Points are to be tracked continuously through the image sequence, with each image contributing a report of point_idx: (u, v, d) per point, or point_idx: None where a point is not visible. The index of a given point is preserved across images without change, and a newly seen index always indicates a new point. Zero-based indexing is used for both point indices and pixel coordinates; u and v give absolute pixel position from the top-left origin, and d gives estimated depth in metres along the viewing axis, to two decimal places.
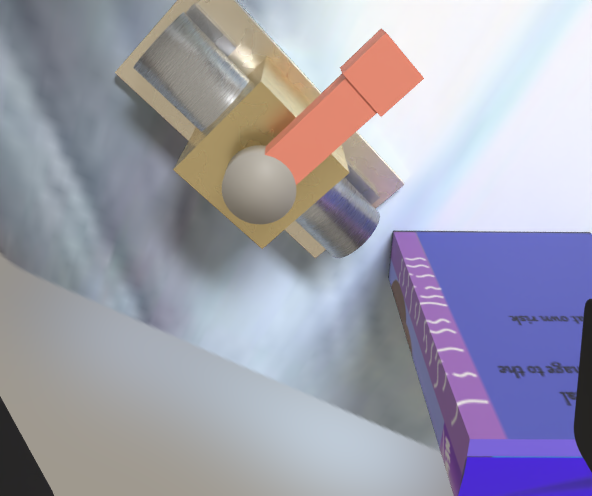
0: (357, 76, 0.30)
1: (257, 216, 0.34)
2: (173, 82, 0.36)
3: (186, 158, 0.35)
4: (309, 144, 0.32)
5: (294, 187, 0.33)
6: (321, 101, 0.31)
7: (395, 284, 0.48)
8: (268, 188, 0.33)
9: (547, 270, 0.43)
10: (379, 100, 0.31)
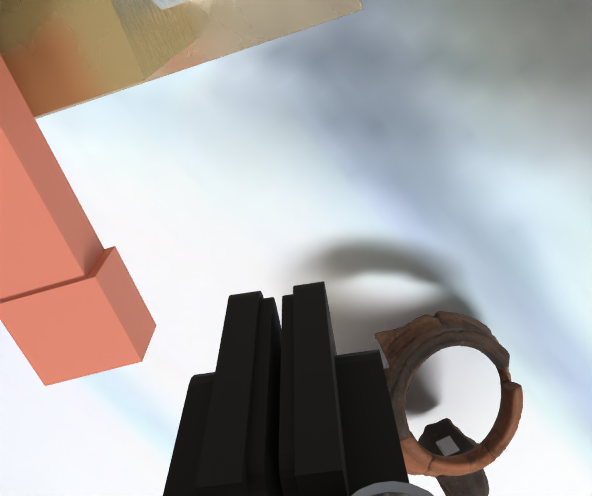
0: (82, 295, 0.15)
1: None
2: None
3: None
4: None
5: None
6: (53, 219, 0.14)
7: None
8: None
9: None
10: (24, 314, 0.16)
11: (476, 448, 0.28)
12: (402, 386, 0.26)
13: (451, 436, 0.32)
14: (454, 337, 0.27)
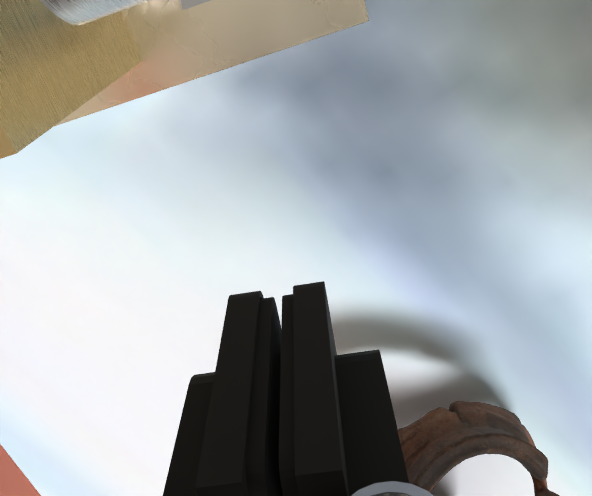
0: None
1: None
2: None
3: None
4: None
5: None
6: None
7: None
8: None
9: None
10: None
11: None
12: None
13: None
14: (479, 445, 0.21)
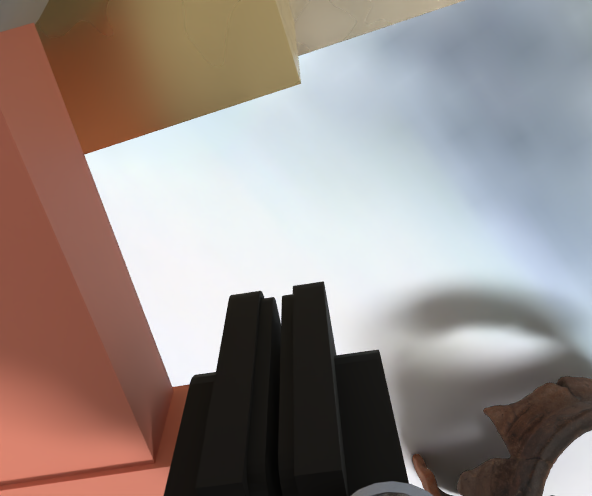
0: (141, 487, 0.09)
1: None
2: None
3: None
4: None
5: None
6: (114, 370, 0.08)
7: None
8: None
9: None
10: None
11: None
12: (537, 487, 0.20)
13: None
14: None
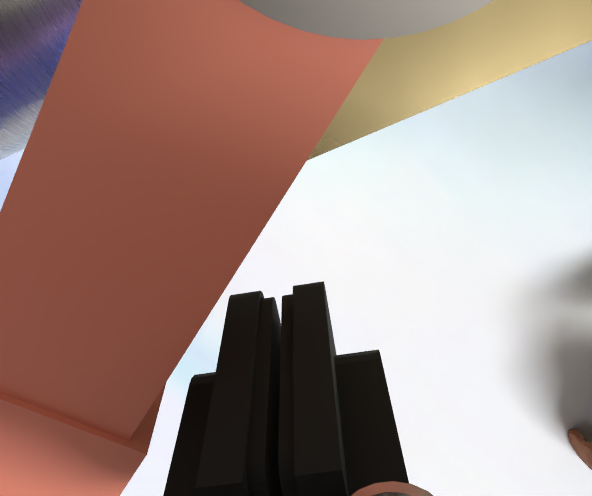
0: (91, 453, 0.08)
1: None
2: None
3: None
4: (160, 165, 0.06)
5: None
6: (184, 349, 0.07)
7: None
8: None
9: None
10: None
11: None
12: None
13: None
14: None
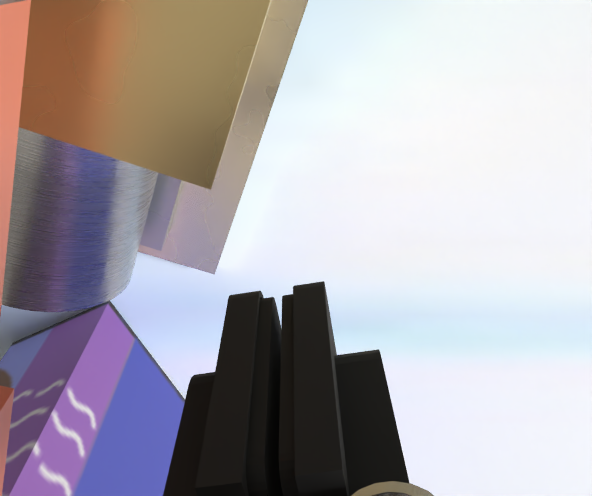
0: None
1: None
2: None
3: None
4: None
5: None
6: None
7: (1, 385, 0.20)
8: None
9: None
10: None
11: None
12: None
13: None
14: None
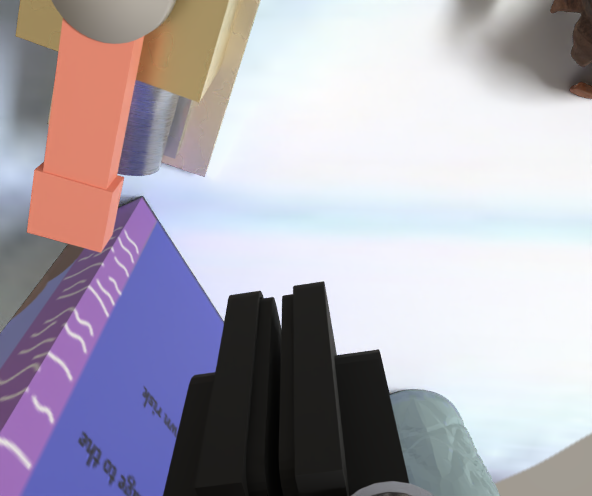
0: (95, 197, 0.24)
1: None
2: None
3: None
4: (89, 88, 0.21)
5: (62, 13, 0.20)
6: (113, 149, 0.23)
7: None
8: None
9: None
10: (51, 186, 0.23)
11: None
12: None
13: None
14: None
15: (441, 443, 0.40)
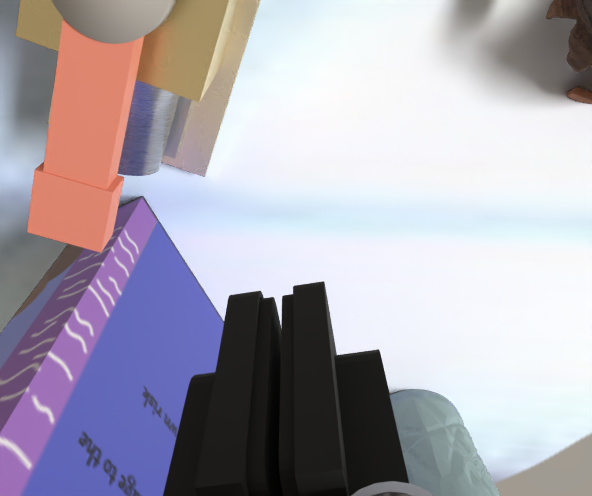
0: (95, 197, 0.24)
1: None
2: None
3: None
4: (89, 88, 0.21)
5: (62, 13, 0.20)
6: (113, 149, 0.23)
7: None
8: None
9: None
10: (51, 186, 0.23)
11: None
12: None
13: None
14: None
15: (441, 443, 0.40)
